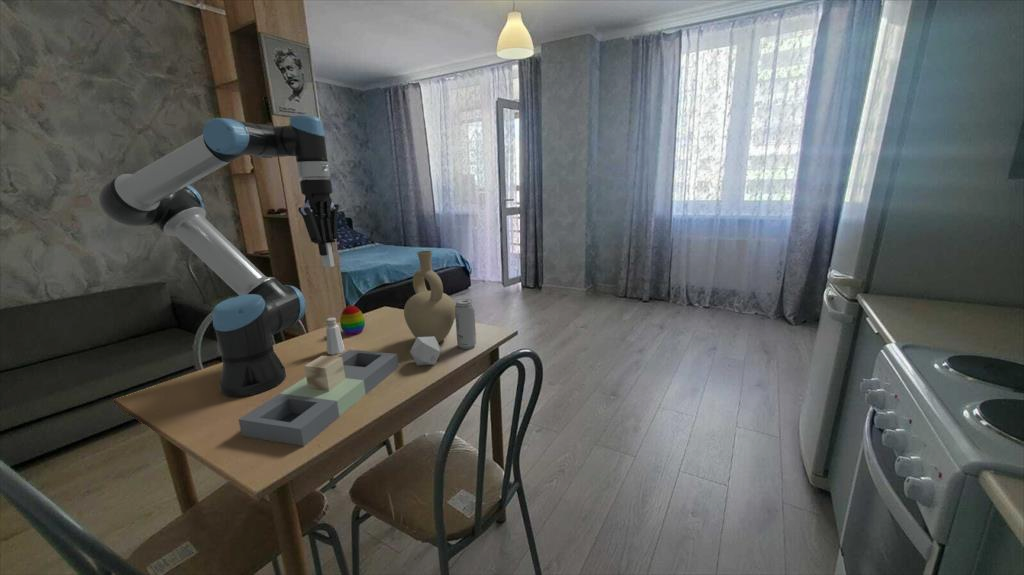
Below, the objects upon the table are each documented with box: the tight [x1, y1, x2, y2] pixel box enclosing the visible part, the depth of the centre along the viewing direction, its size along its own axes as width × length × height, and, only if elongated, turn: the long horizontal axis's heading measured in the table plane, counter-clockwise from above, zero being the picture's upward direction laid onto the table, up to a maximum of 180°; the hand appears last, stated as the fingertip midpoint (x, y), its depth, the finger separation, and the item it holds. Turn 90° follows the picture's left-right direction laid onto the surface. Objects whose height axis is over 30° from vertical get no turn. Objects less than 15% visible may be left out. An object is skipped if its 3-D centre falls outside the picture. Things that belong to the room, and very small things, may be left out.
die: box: [409, 336, 442, 367], centre depth 118 cm, size 8×9×10 cm
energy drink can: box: [455, 298, 477, 350], centre depth 128 cm, size 6×6×15 cm
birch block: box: [304, 355, 346, 391], centre depth 99 cm, size 6×6×6 cm
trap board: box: [238, 349, 400, 447], centre depth 102 cm, size 16×37×4 cm, turn 165°
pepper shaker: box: [325, 317, 346, 356], centre depth 128 cm, size 5×5×11 cm
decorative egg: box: [339, 304, 366, 336], centre depth 145 cm, size 8×8×10 cm
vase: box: [403, 250, 456, 344], centre depth 132 cm, size 17×17×30 cm
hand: (328, 266), depth 114 cm, fingers closed
